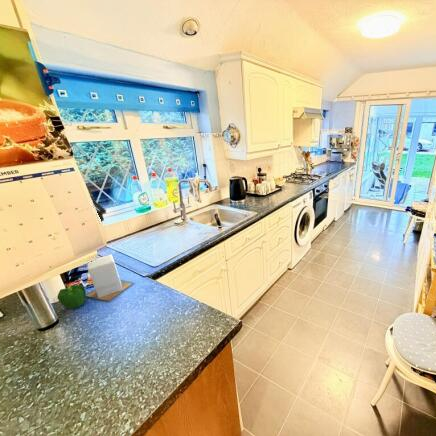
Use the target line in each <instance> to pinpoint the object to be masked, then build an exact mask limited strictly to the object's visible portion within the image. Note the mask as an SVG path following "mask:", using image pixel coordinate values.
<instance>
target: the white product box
mask: <svg viewBox="0 0 436 436" xmlns="http://www.w3.org/2000/svg"><path fill="white" fill-rule="evenodd" d="M95 259H96V258H95ZM87 272H88V274H89V277H90V280H91V282H92V284H93V287H94V290H96V293H97V296H98V298H101V297H104V296H107V295H110V294H113V293H115V292H118V291H121V290H123V289H122V285H121V282H122V281H121V278H120V275H119V272H118V268H117V265H116V262H115V260H114V256H113V255H112V254H108V255H105V256H104V255H103V256H100V257H97V259H96V260H93V261H92V262H89V263H88V262H87ZM123 291H124V290H123Z"/></svg>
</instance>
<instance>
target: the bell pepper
mask: <svg viewBox="0 0 436 436" xmlns="http://www.w3.org/2000/svg"><path fill="white" fill-rule="evenodd" d="M86 296H87V291H86V288H85V286H84V285H83V284H76V283H75V284H74V283H73V284H71V285H69V286H67V287H66V288H65V287H64V288H62V289H59V291H58V294H57V296H56V297H57V300H58V302H59V303H60V304H61V306H62V307H64V308H66V309H71V310H73V309H79V308H80V307H82V306H83V305H84V303H85V301H86V298H87V297H86Z"/></svg>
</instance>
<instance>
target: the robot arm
mask: <svg viewBox="0 0 436 436" xmlns="http://www.w3.org/2000/svg"><path fill="white" fill-rule="evenodd" d="M90 197H91V198H92V200H93V203H94V205H95V206H94V205H93V206H94V208H95V209H96V210H97V213H98V215H99V217H100V219H101V222H102V223H103V222H104V221H105V218H104V216H103V215H106V214H107V210H106V209H105V208H104V207H103V206H102V205H101V204H99V203H98V202H97V201H95V200H94V198H93V197H92V196H90Z"/></svg>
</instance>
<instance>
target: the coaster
mask: <svg viewBox="0 0 436 436" xmlns="http://www.w3.org/2000/svg"><path fill="white" fill-rule="evenodd" d="M121 285H122V289H123V290H121V291H118V292H115V293H113V294H110V295H107V296H104V297H101V298H98V296H97V293H96V290H95V289H94V290H93V291H92V292H90V293H88V294H86V298H91V299H96V300H102V301H106V302H110V301H111V300H112V299H114V298H115V297H117V296H118V295H119V294H121V293H122V292H123V291H125V290H126V289H127V288H129V287H130V286H132V283H131V282H125V281H121Z"/></svg>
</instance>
